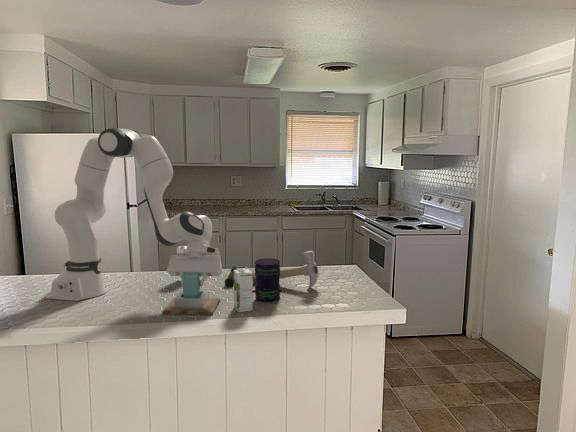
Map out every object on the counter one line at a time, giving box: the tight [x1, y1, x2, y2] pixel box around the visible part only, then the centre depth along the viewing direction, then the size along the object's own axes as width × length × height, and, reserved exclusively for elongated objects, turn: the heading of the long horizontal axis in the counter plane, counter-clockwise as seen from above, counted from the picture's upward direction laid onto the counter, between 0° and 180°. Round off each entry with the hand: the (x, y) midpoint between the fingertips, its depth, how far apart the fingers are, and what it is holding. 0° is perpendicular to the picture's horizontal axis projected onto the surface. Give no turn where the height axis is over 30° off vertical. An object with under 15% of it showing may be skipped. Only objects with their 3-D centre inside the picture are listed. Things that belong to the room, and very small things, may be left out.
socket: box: [174, 289, 210, 310], centre depth 162 cm, size 10×10×4 cm
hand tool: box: [224, 266, 237, 288], centre depth 197 cm, size 19×4×5 cm, turn 177°
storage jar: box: [254, 258, 281, 304], centre depth 171 cm, size 10×10×15 cm
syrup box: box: [233, 268, 253, 313], centre depth 160 cm, size 6×6×14 cm
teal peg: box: [182, 273, 201, 297], centre depth 162 cm, size 5×5×9 cm
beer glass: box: [176, 245, 187, 282], centre depth 197 cm, size 7×7×15 cm
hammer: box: [252, 250, 320, 291], centre depth 188 cm, size 16×5×30 cm
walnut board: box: [161, 297, 221, 315], centre depth 163 cm, size 18×14×1 cm
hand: (191, 285), depth 162 cm, fingers closed on teal peg, 5 cm apart
